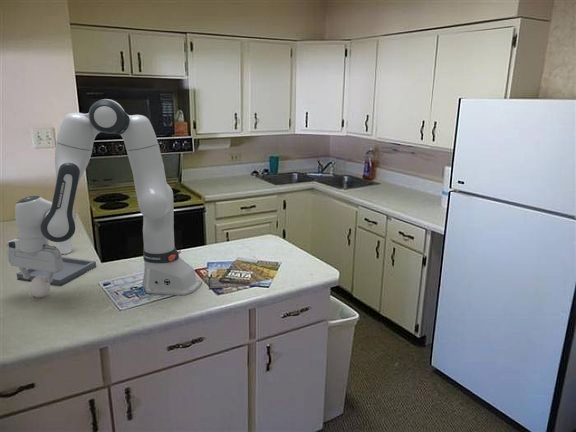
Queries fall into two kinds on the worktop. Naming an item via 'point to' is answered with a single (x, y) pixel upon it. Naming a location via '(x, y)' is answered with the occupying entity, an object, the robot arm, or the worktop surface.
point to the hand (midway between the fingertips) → (38, 280)
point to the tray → (63, 271)
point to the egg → (39, 286)
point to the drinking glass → (65, 246)
